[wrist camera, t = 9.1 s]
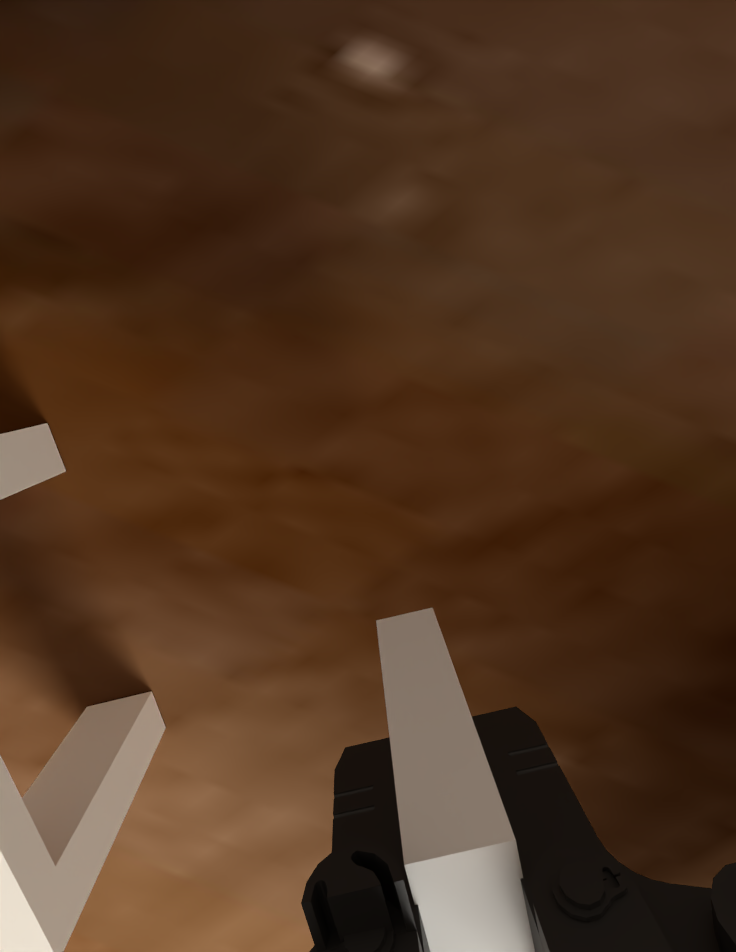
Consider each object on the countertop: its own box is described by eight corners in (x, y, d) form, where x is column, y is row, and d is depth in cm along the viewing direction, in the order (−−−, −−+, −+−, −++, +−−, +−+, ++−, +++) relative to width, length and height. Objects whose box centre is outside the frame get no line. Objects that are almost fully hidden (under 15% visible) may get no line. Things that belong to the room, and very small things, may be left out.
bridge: (47, 423, 20) (-194, 480, 11) (165, 727, 23) (58, 961, 14) (-28, 440, 20) (-332, 512, 11) (102, 742, 23) (-45, 986, 14)
